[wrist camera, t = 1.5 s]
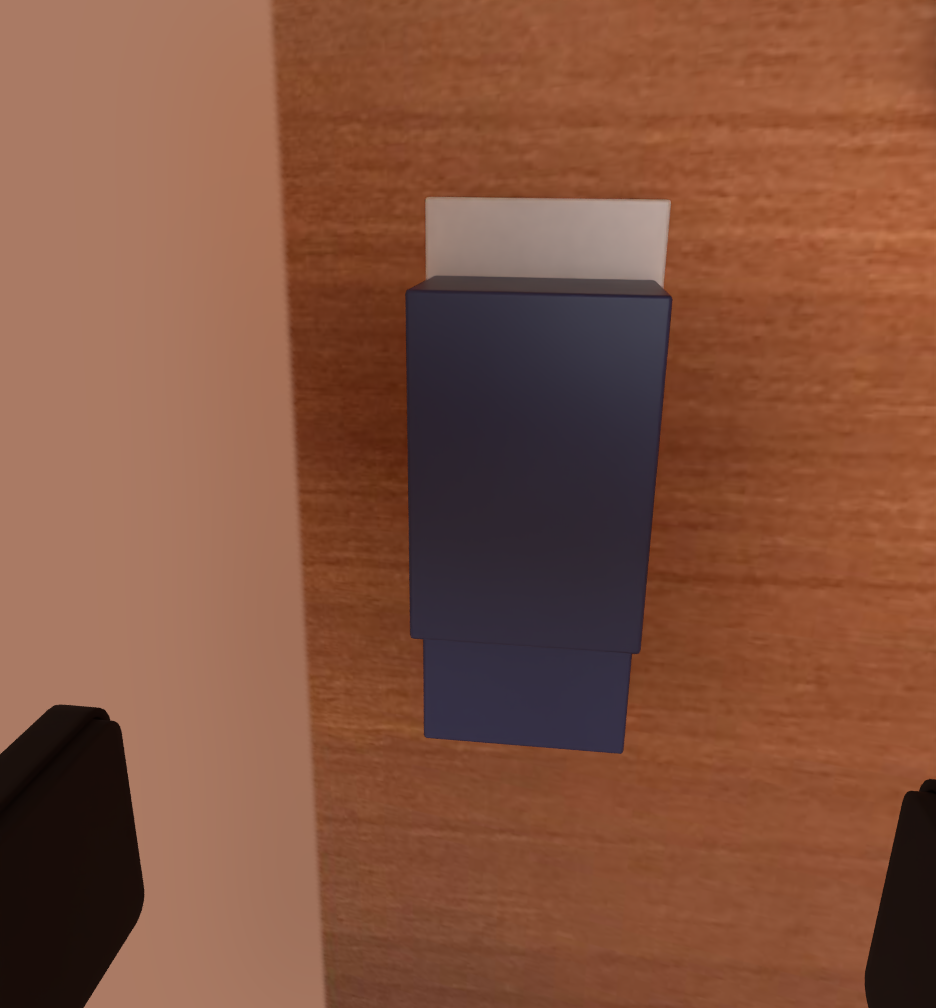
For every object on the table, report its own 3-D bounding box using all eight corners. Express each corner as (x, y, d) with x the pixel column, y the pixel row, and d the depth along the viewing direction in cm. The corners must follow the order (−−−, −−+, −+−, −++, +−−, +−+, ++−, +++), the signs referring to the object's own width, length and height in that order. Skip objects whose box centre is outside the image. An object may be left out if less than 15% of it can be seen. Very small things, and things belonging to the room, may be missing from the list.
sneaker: (433, 197, 24) (394, 196, 18) (665, 199, 23) (691, 199, 18) (434, 689, 29) (405, 794, 24) (622, 704, 28) (633, 815, 23)
